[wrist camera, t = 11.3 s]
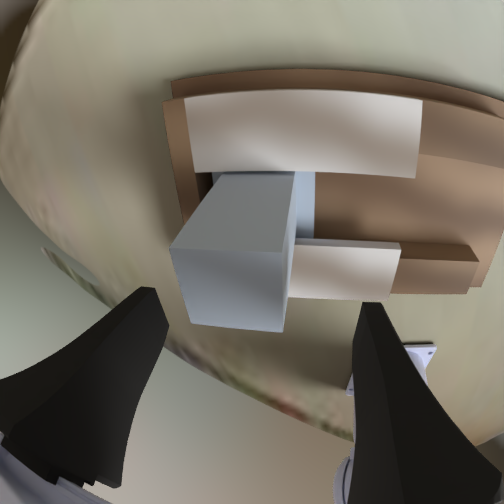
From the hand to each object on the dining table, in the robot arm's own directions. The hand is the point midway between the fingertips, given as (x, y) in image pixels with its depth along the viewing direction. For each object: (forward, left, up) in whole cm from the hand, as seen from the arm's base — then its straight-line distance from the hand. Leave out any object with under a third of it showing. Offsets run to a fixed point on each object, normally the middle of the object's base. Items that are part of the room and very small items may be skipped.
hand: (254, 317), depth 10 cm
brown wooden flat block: (+1, -5, -10) cm, 12 cm away
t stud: (+1, +1, -9) cm, 9 cm away
